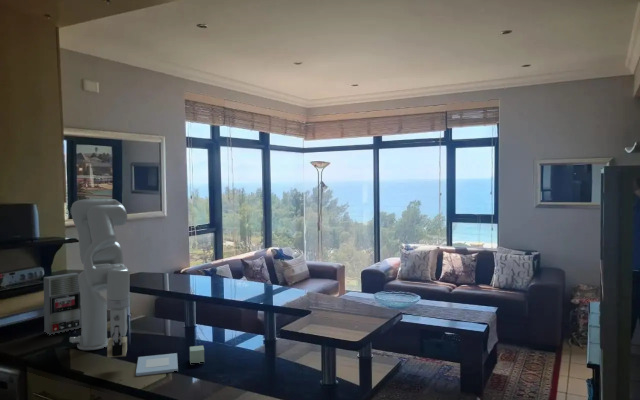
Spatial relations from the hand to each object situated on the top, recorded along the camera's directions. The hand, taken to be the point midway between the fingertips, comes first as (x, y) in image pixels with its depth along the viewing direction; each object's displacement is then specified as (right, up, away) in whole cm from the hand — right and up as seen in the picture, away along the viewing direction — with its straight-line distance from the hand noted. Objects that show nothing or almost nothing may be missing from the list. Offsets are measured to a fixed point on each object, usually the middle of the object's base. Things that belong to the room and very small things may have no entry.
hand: (118, 351), depth 171 cm
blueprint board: (+13, -6, +3) cm, 15 cm away
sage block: (+26, -6, +8) cm, 28 cm away
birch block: (0, -1, 0) cm, 1 cm away
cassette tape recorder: (-43, -5, +43) cm, 61 cm away
